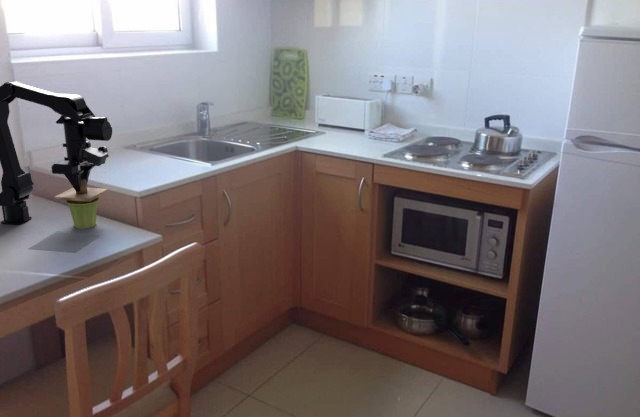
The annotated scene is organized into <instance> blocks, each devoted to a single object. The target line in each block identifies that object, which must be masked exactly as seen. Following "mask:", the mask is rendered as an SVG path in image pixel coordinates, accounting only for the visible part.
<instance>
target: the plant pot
mask: <svg viewBox="0 0 640 417" xmlns="http://www.w3.org/2000/svg"><path fill="white" fill-rule="evenodd" d="M99 201H100V196H99V197H97V198H95V199H94V200H92V201H90V202H87V201H73V200H65V202H66V204H67V206H68V208H69V211H70V214H71V219H72V223H73V226H74V228H76V229H83V230H84V229H90V228H92V227H95V226H96V224H97V213H98V212H97V210H98V204H99Z"/></svg>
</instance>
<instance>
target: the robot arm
mask: <svg viewBox="0 0 640 417" xmlns="http://www.w3.org/2000/svg"><path fill="white" fill-rule="evenodd" d="M16 99H20V100H24V101H27V102H31V103H34V104H37V105H41V106H43V107H48V108H49V109H51V110H52V111H53V112H55V113H57V114H58V115H60V117H59V118H58V119H57V120H56V121H55V123H56V124H59V125H63V130H64V131H63V132H64V140H65V142H63V143H62V148H65V149H66V156H64V157H63V158H64V160H60V161H57V162H55V163H53V164H52V165H51V174H53V175H55V174H56V175H64V176H65V177H66V180H68V182H69V183H70V184H71V186H72V188H74V189H75V191H76V192H80V179H86V183H87V184H88V183H89V182H88V181H89V177H90V174H91V171H92V170H93V169H94V168H95V167H100V166H102V165H105V164H106V161H107V160H106V159H107V158H109V157H110V156H109V152H108V147H107V146H105V145H101V146H99V147H98V148H97V147H92V144H91V142H90V141H102V142H103V141H104V142H109V141H110V140H111V138H112V135H113V127H112V125H111V123H110V122H109V121H108V120H109V119H108V117H107V116H101V117H97V116H96V115H95V114H94V112H93V111H92V110H91V109H90V107H89V106H88V105H87V103H86V101H85V99H84V97H83V96H81V95H79V94H73V93H72V94H71V93H56V92H52V91H49V90H45V89H41V88H38V87H35V86H32V85H27V84H25V83H22V82H20V81H17V80H12V81H6V82H5V83H3V84H1V86H0V166H1V170H2V176H1V179H0V180H1V181H0V186H1V191H0V207H1V211H2V217H3V220H1V221H0V224H5V225H8V224H9V225H21V224H24V223H25V222H27V221H29V220H32V216H30V212H29V207H28V205H27V201H26V200H29V199H30V194H31V193H32V192H33V189H34V186H35V184H34V181H33V180H32V174H31V173H30V171H29V172H25V171H24V170H23V169H22V168H21V164H20V161H19V157H18V154H17V150H16V147H15V144H14V140H13V136H12V134H11V130H10V127H9V124H8V123H9V122H8V121H9V116H10V112H11V111H10V105H9V104H11V103H13V101H15V100H16Z"/></svg>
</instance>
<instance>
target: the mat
mask: <svg viewBox="0 0 640 417" xmlns="http://www.w3.org/2000/svg"><path fill="white" fill-rule="evenodd" d="M100 236H102V234H94V233H80V232H69V231H56V232H54V233H52V234H51V235H49V236H46V237H45V238H44V239H42V240H40V241H39V242H37V243H36V244H34V245H32V246H30V247H28V248H27V249H28V250H35V251H36V250H37V251H51V252H58V253H59V252H61V253H74V254H75V253H76V254H77V252H79V251H80V250H82V249H83V248H85V247H86V246H88V245H89V244H90V243H92V242H93V241H95V240H96V239H98V238H99V237H100Z"/></svg>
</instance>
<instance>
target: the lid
mask: <svg viewBox="0 0 640 417" xmlns="http://www.w3.org/2000/svg"><path fill="white" fill-rule="evenodd" d="M108 192H109V189H108V188H98V187H88V183H86V179H80V192H76V191H75V189H74V188H73V187H71V188H69V189H67V190H65V191H63V192H61V193H59V194H57V195H55V196H54V200H60V201H66V200H73V201H87V202H90V201H92V200H94V199H95V198H97V197H99V198H100V196H102V195H105V193H108Z"/></svg>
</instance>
